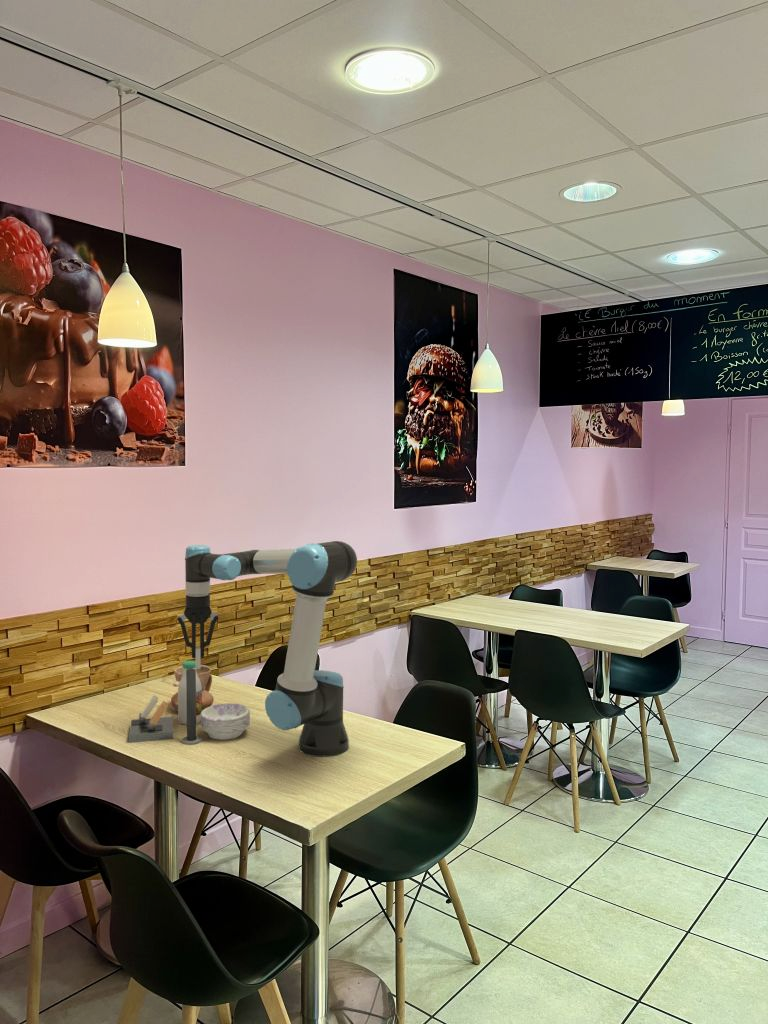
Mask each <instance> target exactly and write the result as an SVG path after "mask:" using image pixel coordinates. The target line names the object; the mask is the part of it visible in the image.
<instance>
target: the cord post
mask: <svg viewBox="0 0 768 1024" xmlns="http://www.w3.org/2000/svg"><path fill="white" fill-rule="evenodd" d="M186 691H187V725H186V737H183V738H181V743H182V744H183V745H187V746H191V745H192V746H193V745H197V744H199V743H201V742H202V740H203V739H202V737H201V736H199V735H197V724H196V670H195V669H188V670H186Z"/></svg>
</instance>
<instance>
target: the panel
mask: <svg viewBox="0 0 768 1024" xmlns="http://www.w3.org/2000/svg"><path fill="white" fill-rule="evenodd" d="M151 718H152V717H151ZM151 718H146V719H145V722H144V723H140V722H139V718H138V719H131V721H130V726H129V727H130V728H129V733H128V741H129V742H128V743H140V742H152V741H153V742H154V741H164V740H166V741H167V740H173V739H174V716H164V717H162V716H161V718H160V719H159V721H158V722H157V724H156V725H155V728H154V729H153V730H149V729H148V721H149V720H150V719H151Z"/></svg>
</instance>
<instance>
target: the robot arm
mask: <svg viewBox="0 0 768 1024" xmlns="http://www.w3.org/2000/svg"><path fill="white" fill-rule="evenodd" d="M184 556H185V557H184V562H185V565H184V567H185V568H184V569H185V594H186V595H185V609H184V610H183V613H182V614H181V615H178V616H177V617H176V619H177V622H178V624H180V627H181V631H182V636H183V639H184V643H185V646H186V647H187V648H191V658H192V659H195V660H194V661H195V667H196V669H201V665H202V664H201V659H203V658H204V657H205V648H206V647H209V646H210V645H211V642H212V639H213V634H214V629H215V625H216V623H217V622H218V620H219V615H218V614H215V613H214V612H212V609H211V595H210V593H211V579H215V580H221V581H233V580H235V579H236V578H237V577H241V576H249V575H263V574H265V575H267V574H268V575H270V574H272V575H273V574H275V575H276V574H277V575H280V574H287V576H288V580H289V582H290V583H291V584H292V586H291V589H292V591H293V592H294V593H295V595H296V596H295V601H294V608H293V614H292V621H291V627H290V633H289V639H288V643H287V644H288V645H287V652H286V656H285V664H284V669H283V673H281V674H279V675H278V677H277V680H276V685H275V689H274V690H272V691H270V692H269V693H268V694H267V695H266V697H265V701H264V708H265V712H266V716H267V717H268V718H269V721H270V722H271V724H272V725H274V726H275V727H276V728H277V729H279V730H282V731H290V730H293V729H298V728H299V727H300V726H302V729H301V733H300V735H299V739H298V750H299V751H300V752H301V753H303V754H306V755H308V756H313V757H330V756H331V757H332V756H335V755H336V756H337V755H340V754H342V753H344V752H346V751H348V750H349V748H350V747H349V746H350V745H349V743H350V739H349V735H348V733H347V730H346V727H345V723H344V688H345V686H344V679H343V676H342V675H341V673H339V672H336V671H331V670H321V669H320V670H318V669H316V666H317V665H316V664H317V659H318V652H319V647H320V643H321V642H320V641H321V637H322V636H321V634H322V630H323V623H324V619H325V613H326V606H327V601H328V599H330V598H331V597H333V595H334V592H335V587H336V583H339V582H343V581H345V580H347V579H348V578H350V577H352V575H353V574H354V572H355V571H356V568H357V565H358V557H357V554H356V551H355V549H354V548H353V547H352V546H351V545H350V544H349V543H346V542H345V541H340V540H338V541H337V540H334V541H328V542H318V543H314V542H313V543H308V544H305V545H302V546H299V547H297V548H287V549H286V548H284V549H251V550H247V551H246V550H245V551H237V552H230V553H220V554H219V553H212V552H211V547H210V546H209V545H204V544H196V545H194V544H193V545H192V544H191V545H188V546H187V547H186V548H185V555H184ZM186 619H187V620H188V621H189V623H190V624H191V641H190V637H189V635H188V631H187V627H186V623H185V622H186ZM208 619H210V623H209V627H208V632H207V636H206V639H205V623H206V622H207V621H208ZM197 624H199V646H196V645H197V642H196V641H197V636H196V634H197Z"/></svg>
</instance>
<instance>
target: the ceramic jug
mask: <svg viewBox="0 0 768 1024" xmlns="http://www.w3.org/2000/svg"><path fill="white" fill-rule="evenodd" d="M196 672H197V675H198V677H199V679H200V682H201V686H202V711H203V710H204V709H205V708H207V707H210V706H213V703H214V701H215V699H214V696H213V694H212V693H210V690H211V686H212V682H213V675H212V674H211V672H212V668H211V667H210V666H208V665H205V664H201V669H196ZM173 673H174V678H175V680H176V681H175V682H173V683H172V686H173V687H174V688H175V687H177V688H178V686H179V682H180V680H181V678H182V675H183V665H182V666H181V665H180V666H178V667H176V668H175V669H174V671H173ZM170 705H171V706H172V708H173V709H175V710H176V711H178V691H177V692H176V693H175V694H173V695H172V697H171V699H170Z"/></svg>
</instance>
